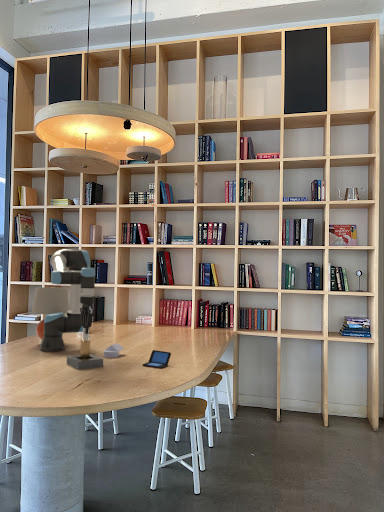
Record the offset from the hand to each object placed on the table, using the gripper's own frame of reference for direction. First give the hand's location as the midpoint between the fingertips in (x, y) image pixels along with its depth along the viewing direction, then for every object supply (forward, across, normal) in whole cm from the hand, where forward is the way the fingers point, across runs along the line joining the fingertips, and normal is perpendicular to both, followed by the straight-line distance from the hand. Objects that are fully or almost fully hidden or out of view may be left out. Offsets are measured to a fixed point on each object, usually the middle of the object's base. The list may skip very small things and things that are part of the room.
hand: (85, 339), depth 227 cm
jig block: (+14, 0, 0) cm, 14 cm away
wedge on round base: (+14, -16, +25) cm, 33 cm away
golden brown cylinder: (+13, 0, 0) cm, 13 cm away
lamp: (+14, -74, +7) cm, 76 cm away
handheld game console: (+14, +21, +32) cm, 41 cm away
